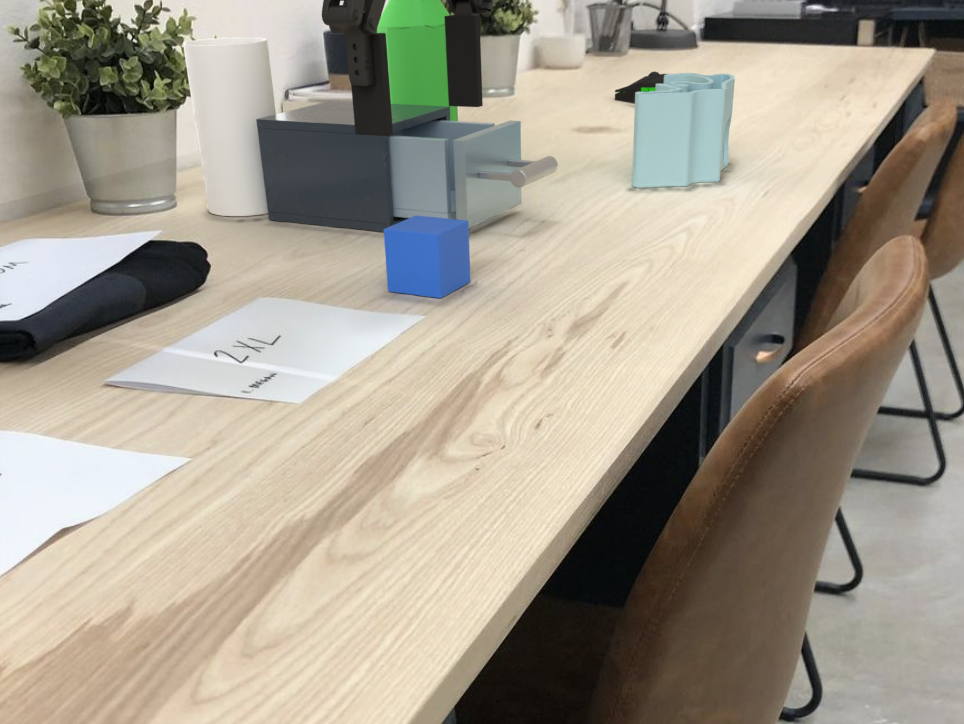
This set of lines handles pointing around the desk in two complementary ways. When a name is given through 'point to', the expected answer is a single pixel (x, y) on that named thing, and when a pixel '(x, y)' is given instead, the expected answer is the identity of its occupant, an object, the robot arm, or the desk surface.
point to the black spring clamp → (639, 87)
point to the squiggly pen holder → (682, 130)
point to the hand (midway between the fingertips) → (422, 120)
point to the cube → (427, 256)
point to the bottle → (417, 52)
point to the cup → (230, 119)
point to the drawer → (460, 170)
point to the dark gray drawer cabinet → (332, 165)
